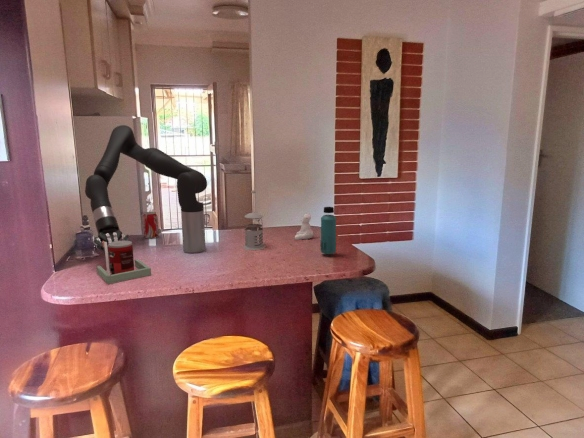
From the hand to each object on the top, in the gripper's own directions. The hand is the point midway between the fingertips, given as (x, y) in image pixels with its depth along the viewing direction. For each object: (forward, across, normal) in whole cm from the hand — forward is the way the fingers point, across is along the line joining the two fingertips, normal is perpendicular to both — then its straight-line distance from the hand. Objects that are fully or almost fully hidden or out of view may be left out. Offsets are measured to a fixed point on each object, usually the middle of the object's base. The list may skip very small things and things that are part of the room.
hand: (117, 259), depth 150 cm
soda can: (-26, -26, -32) cm, 49 cm away
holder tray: (+7, 0, +1) cm, 7 cm away
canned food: (+6, 0, 0) cm, 6 cm away
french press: (+6, -56, 0) cm, 57 cm away
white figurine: (+6, -83, +1) cm, 84 cm away
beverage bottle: (+26, -73, +21) cm, 80 cm away
